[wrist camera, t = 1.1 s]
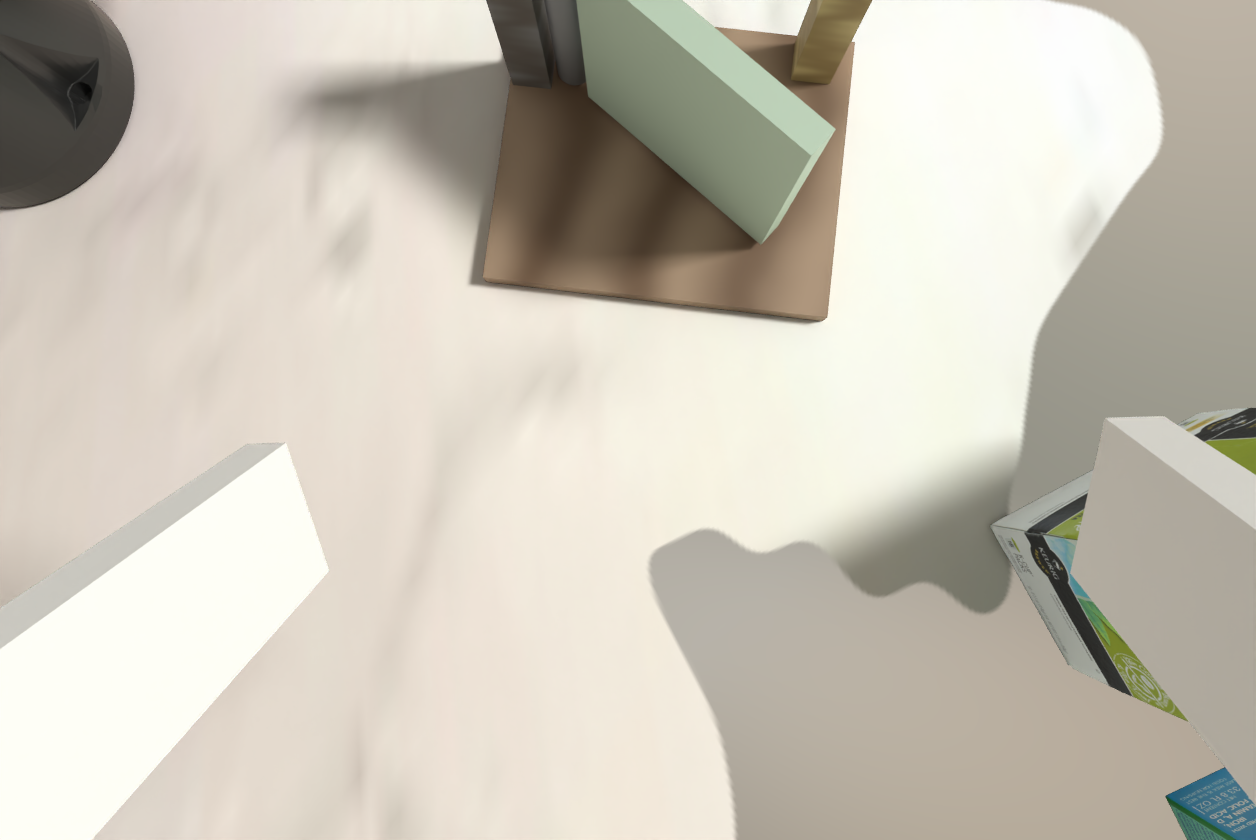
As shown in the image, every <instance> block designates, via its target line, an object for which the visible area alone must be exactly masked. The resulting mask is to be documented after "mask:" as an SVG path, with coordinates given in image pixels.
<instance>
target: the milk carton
mask: <svg viewBox="0 0 1256 840" xmlns="http://www.w3.org/2000/svg"><path fill="white" fill-rule="evenodd" d="M1166 799H1167V801H1168V803H1169V805H1170V806H1171V808H1172V811H1173V813H1174V814H1175V816H1176V818H1177V820H1178V822H1179V824H1180V826H1181V828H1182V830H1183V832H1184V834H1185V836H1186V838H1187V840H1256V805H1255V804H1254V803H1253V802H1252V800H1251V799H1250V798H1249V797H1248V795H1247V794H1246V793H1245V792H1244V790H1243V789H1242V788H1241V787H1240V785H1239V784H1238V783H1237V782H1236V780H1235V779H1234V778H1233V777H1232V775H1231V774H1230V773H1229V772H1228V770H1227V769H1226V768H1225V767H1224V768H1222V769H1220V770H1218V771H1216V772H1214V773H1212V774H1210V775H1208V776H1206V777H1204V778H1202V779H1199V780H1197V781H1195V782H1193V783H1191V784H1189V785H1187V786H1185V787H1183V788H1181V789H1179V790H1177V791H1175V792H1172V793H1171V794H1168V795H1166Z"/></svg>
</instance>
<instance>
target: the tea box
mask: <svg viewBox="0 0 1256 840" xmlns="http://www.w3.org/2000/svg"><path fill="white" fill-rule="evenodd" d="M1177 425H1178V426H1180V427H1181V428H1183V429H1184V430H1186V431H1188V432H1189V433H1191V434H1192V435H1194V436H1195V437H1197V438H1199V439H1200V440H1202V441H1203V442H1205V443H1206V444H1208V445H1210V446H1211V447H1213V448H1214V449H1216V450H1217V451H1219V452H1220V453H1222V454H1224V455H1225V456H1227V457H1228V458H1230V459H1231V460H1233V461H1235V462H1236V463H1238V464H1239V465H1241V466H1242V467H1244V468H1246V469H1247V470H1249V471H1250V472H1252V473H1253V474H1255V475H1256V408H1241V409H1231V410H1220V411H1214V412H1206V413H1198V414H1196V415H1194V416H1192V417H1190V418H1188V419H1187V420H1185V421H1183V422H1181V423H1179V424H1177ZM1092 473H1093V470H1092V471H1089V472H1087V473H1086V474H1084V475H1082V476H1080V477H1078V478H1076V479H1075V480H1072V481H1071V482H1069V483H1067V484H1065V485H1063V486H1061V487H1059V488H1058V489H1056V490H1054V491H1052V492H1050V493H1048V494H1046V495H1044V496H1042V497H1041V498H1039V499H1037V500H1035V501H1033V502H1031V503H1029V504H1027V505H1026V506H1024V507H1022V508H1020V509H1018V510H1016V511H1015V512H1013V513H1011V514H1009V515H1007V516H1005V517H1004V518H1002V519H1000V520H998V521H996V522H995V523H993V524H991V526H990V527H991V529H992V530H993V532H994V534H995V536H996V538H997V540H998V542H999V544H1000V545H1001V547H1002V549H1003V550H1004V552H1005V554H1006V555H1007V557H1008V558H1009V560H1010V562H1011V564H1012V565H1013V567H1014V569H1015V571H1016V573H1017V574H1018V576H1019V578H1020V580H1021V581H1022V583H1023V585H1024V587H1025V589H1026V591H1027V593H1028V594H1029V596H1030V598H1031V600H1032V601H1033V603H1034V605H1035V607H1036V608H1037V610H1038V612H1039V614H1040V615H1041V617H1042V619H1043V621H1044V622H1045V624H1046V626H1047V628H1048V630H1049V632H1050V633H1051V635H1052V637H1053V639H1054V641H1055V642H1056V644H1057V646H1058V648H1059V649H1060V651H1061V653H1062V655H1063V656H1064V658H1065V659H1066V661H1067V664H1068V665H1070V666H1071V667H1072V668H1073V669H1075V670H1077V671H1080V672H1081V673H1083V674H1085V675H1087V676H1089V677H1092V678H1094V679H1096V680H1098V681H1100V682H1102V683H1104V684H1106V685H1108V686H1110V687H1113V688H1115V689H1117V690H1119V691H1121V692H1122V693H1126V694H1128V695H1130V696H1133V697H1135V698H1137V699H1139V700H1141V701H1143V702H1146V703H1148V704H1150V705H1152V706H1155V707H1157V708H1159V709H1161V710H1163V711H1166V712H1168V713H1170V714H1172V715H1174V716H1177V717H1179V718H1181V719H1183V720H1186V721H1188V720H1187V719H1186V718H1185V716H1184V715H1183V714H1182V713H1181V711H1180V710H1179V709H1178V708H1177V706H1176V705H1175V704H1174V703H1173V701H1172V700H1171V699H1170V698H1169V696H1168V695H1167V694H1166V693H1165V691H1164V690H1163V689H1162V688H1161V686H1160V685H1159V684H1158V683H1157V681H1156V680H1155V679H1154V678H1153V676H1152V675H1151V674H1150V673H1149V671H1148V670H1147V669H1146V668H1145V666H1144V665H1143V664H1142V663H1141V661H1140V660H1139V659H1138V658H1137V656H1136V655H1135V654H1134V653H1133V651H1132V650H1131V649H1130V648H1129V646H1128V645H1127V644H1126V643H1125V641H1124V640H1123V639H1122V637H1121V636H1120V635H1119V634H1118V632H1117V631H1116V630H1115V629H1114V627H1113V626H1112V625H1111V624H1110V622H1109V621H1108V620H1107V619H1106V617H1105V616H1104V615H1103V614H1102V612H1101V611H1100V610H1099V609H1098V607H1097V606H1096V605H1095V604H1094V602H1093V601H1092V600H1091V599H1090V597H1089V596H1088V595H1087V594H1086V592H1085V591H1084V590H1083V589H1082V587H1081V586H1080V585H1079V584H1078V582H1077V581H1076V580H1075V579H1074V577H1073V576H1072V575H1071V574H1070V571H1071V567H1072V562H1073V558H1074V554H1075V549H1076V545H1077V540H1078V536H1079V531H1080V527H1081V522H1082V518H1083V513H1084V509H1085V504H1086V500H1087V495H1088V491H1089V486H1090V482H1091V477H1092ZM1188 722H1189V721H1188Z"/></svg>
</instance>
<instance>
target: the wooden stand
mask: <svg viewBox="0 0 1256 840" xmlns="http://www.w3.org/2000/svg"><path fill="white" fill-rule="evenodd" d="M486 1H487V4H488V7H489V11H490V14H491V17H492V20H493V23H494V26H495V30H496V33H497V36H498V39H499V42H500V45H501V49H502V52H503V55H504V58H505V61H506V64H507V68H508V71H509V74H510V77H511V80H510V87H509V94H508V101H507V108H506V115H505V122H504V129H503V136H502V143H501V151H500V158H499V165H498V172H497V179H496V186H495V193H494V200H493V207H492V214H491V221H490V229H489V236H488V243H487V250H486V257H485V264H484V271H483V278H484V279H485V281H486V282H493V283H501V284H510V285H518V286H527V287H535V288H544V289H552V290H561V291H570V292H578V293H587V294H595V295H604V296H612V297H621V298H629V299H638V300H646V301H655V302H663V303H672V304H681V305H689V306H698V307H706V308H715V309H723V310H732V311H740V312H749V313H757V314H766V315H774V316H783V317H792V318H800V319H809V320H817V321H823V320H824V319H826V318H827V315H828V305H829V295H830V285H831V275H832V265H833V255H834V245H835V235H836V225H837V215H838V205H839V195H840V185H841V175H842V165H843V155H844V145H845V135H846V125H847V115H848V105H849V95H850V85H851V75H852V65H853V55H854V45H855V42H851V41H852V39H853V37H854V35H855V33H856V31H857V29H858V27H859V25H860V23H861V21H862V19H863V17H864V15H865V13H866V11H867V9H868V8H869V6H870V4H871V2H872V0H811V2H810V4H809V7H808V10H807V12H806V15H805V17H804V20H803V23H802V25H801V28H800V31H799V33H798V36H792V35H783V34H774V33H765V32H756V31H747V30H737V29H728V28H719V27H715V28H716V29H717V30H718V31H720V32H721V33H722V34H723V35H724V36H725V37H727V38H728V39H729V40H730V41H731V42H733V43H734V44H735V45H736V46H737V47H739V48H740V49H741V50H742V51H743V52H745V53H746V54H747V55H748V56H749V57H750V58H752V59H753V60H754V61H755V62H756V63H758V64H759V65H760V66H761V67H762V68H764V69H765V70H766V71H767V72H768V73H770V74H771V75H772V76H773V77H774V78H776V79H777V80H778V81H779V82H780V83H781V84H783V85H784V86H785V87H786V88H787V89H789V90H790V91H791V92H792V93H793V94H795V95H796V96H797V97H798V98H799V99H801V100H802V101H803V102H804V103H805V104H806V105H808V106H809V107H810V108H811V109H812V110H814V111H815V112H816V113H817V114H818V115H820V116H821V117H822V118H823V119H824V120H826V121H827V122H828V123H829V124H830V125H831V126H833V127H834V128H835V129H836V130H835V131H834V133H833V135H832V136H831V138H830V140H829V141H828V143H827V145H826V146H825V148H824V150H823V151H822V153H821V155H820V156H819V158H818V160H817V161H816V163H815V165H814V166H813V168H812V170H811V172H810V173H809V175H808V177H807V178H806V180H805V182H804V183H803V185H802V187H801V188H800V190H799V192H798V193H797V195H796V197H795V198H794V200H793V202H792V203H791V205H790V207H789V208H788V210H787V212H786V214H785V215H784V217H783V219H782V220H781V222H780V224H779V225H778V226H777V228H776V229H775V230H774V231H773V232H772V233H771V234H770V235H769V236H768V238H767V239H766V240H765V241H764V242H763V243H762V244H761V245H760V244H759V243H758V242H757V241H756V240H755V239H753V238H752V237H751V236H750V235H749V234H748V233H746V232H745V231H744V230H743V229H742V228H741V227H739V226H738V225H737V224H736V223H735V222H734V221H732V220H731V219H730V218H729V217H728V216H727V215H725V214H724V213H723V212H722V211H721V210H720V209H718V208H717V207H716V206H715V205H714V204H713V203H712V202H710V201H709V200H708V199H707V198H706V197H705V196H703V195H702V194H701V193H700V192H699V191H698V190H696V189H695V188H694V187H693V186H692V185H691V184H689V183H688V182H687V181H686V180H685V179H684V178H682V177H681V176H680V175H679V174H678V173H677V172H675V171H674V170H673V169H672V168H671V167H670V166H669V165H667V164H666V163H665V162H664V161H663V160H662V159H660V158H659V157H658V156H657V155H656V154H655V153H653V152H652V151H651V150H650V149H649V148H648V147H646V146H645V145H644V144H643V143H642V142H641V141H639V140H638V139H637V138H636V137H635V136H634V135H632V134H631V133H630V132H629V131H628V130H627V129H626V128H624V127H623V126H622V125H621V124H620V123H619V122H617V121H616V120H615V119H614V118H613V117H612V116H610V115H609V114H608V113H607V112H606V111H605V110H603V109H602V108H601V107H600V106H599V105H598V104H596V103H595V102H594V101H593V100H592V99H591V98H589V97H588V91H587V83H586V82H585V83H583V84H581V85H569V84H567V83H565V82H564V81H562V80H561V78H560V77H559V75H558V71H557V66H556V61H555V55H554V50H553V45H552V40H551V35H550V29H549V24H548V19H547V14H546V9H545V3H544V0H486Z"/></svg>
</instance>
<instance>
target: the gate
mask: <svg viewBox="0 0 1256 840" xmlns="http://www.w3.org/2000/svg"><path fill="white" fill-rule="evenodd" d="M544 3H545V9H546V14H547V19H548V24H549V29H550V35H551V40H552V45H553V50H554V55H555V61H556V66H557V71H558V75H559V77H560V78H561V80H562V81H564V82H565V83H567V84H569V85H581V84H583V83H585V82H586V83H587V91H588V97H589V98H591V99H592V100H593V101H594V102H595V103H596V104H598V105H599V106H600V107H601V108H602V109H603V110H605V111H606V112H607V113H608V114H609V115H610V116H612V117H613V118H614V119H615V120H616V121H617V122H619V123H620V124H621V125H622V126H623V127H624V128H626V129H627V130H628V131H629V132H630V133H631V134H632V135H634V136H635V137H636V138H637V139H638V140H639V141H641V142H642V143H643V144H644V145H645V146H646V147H648V148H649V149H650V150H651V151H652V152H653V153H655V154H656V155H657V156H658V157H659V158H660V159H662V160H663V161H664V162H665V163H666V164H667V165H669V166H670V167H671V168H672V169H673V170H674V171H675V172H677V173H678V174H679V175H680V176H681V177H682V178H684V179H685V180H686V181H687V182H688V183H689V184H691V185H692V186H693V187H694V188H695V189H696V190H698V191H699V192H700V193H701V194H702V195H703V196H705V197H706V198H707V199H708V200H709V201H710V202H712V203H713V204H714V205H715V206H716V207H717V208H718V209H720V210H721V211H722V212H723V213H724V214H725V215H727V216H728V217H729V218H730V219H731V220H732V221H734V222H735V223H736V224H737V225H738V226H739V227H741V228H742V229H743V230H744V231H745V232H746V233H748V234H749V235H750V236H751V237H752V238H753V239H755V240H756V241H757V242H758V243H759V244H760V245H761V244H762V243H763V242H764V241H765V240H766V239H767V238H768V236H769V235H770V234H771V233H772V232H773V231H774V230H775V229H776V228H777V226H778V225H779V224H780V222H781V220H782V219H783V217H784V215H785V214H786V212H787V210H788V208H789V207H790V205H791V203H792V202H793V200H794V198H795V197H796V195H797V193H798V192H799V190H800V188H801V187H802V185H803V183H804V182H805V180H806V178H807V177H808V175H809V173H810V172H811V170H812V168H813V166H814V165H815V163H816V161H817V160H818V158H819V156H820V155H821V153H822V151H823V150H824V148H825V146H826V145H827V143H828V141H829V140H830V138H831V136H832V135H833V133H834V131H835V130H836V129H835V128H834V127H833V126H831V125H830V124H829V123H828V122H827V121H826V120H824V119H823V118H822V117H821V116H820V115H818V114H817V113H816V112H815V111H814V110H812V109H811V108H810V107H809V106H808V105H806V104H805V103H804V102H803V101H802V100H801V99H799V98H798V97H797V96H796V95H795V94H793V93H792V92H791V91H790V90H789V89H787V88H786V87H785V86H784V85H783V84H781V83H780V82H779V81H778V80H777V79H776V78H774V77H773V76H772V75H771V74H770V73H768V72H767V71H766V70H765V69H764V68H762V67H761V66H760V65H759V64H758V63H756V62H755V61H754V60H753V59H752V58H750V57H749V56H748V55H747V54H746V53H745V52H743V51H742V50H741V49H740V48H739V47H737V46H736V45H735V44H734V43H733V42H731V41H730V40H729V39H728V38H727V37H725V36H724V35H723V34H722V33H721V32H720V31H718V30H717V29H716V28H715V27H714V26H712V25H711V24H710V23H709V22H708V21H706V20H705V19H704V18H703V17H702V16H700V15H699V14H698V13H697V12H696V11H695V10H693V9H692V8H691V7H690V6H689V5H687V4H686V3H685V2H684V1H683V0H544Z"/></svg>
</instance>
